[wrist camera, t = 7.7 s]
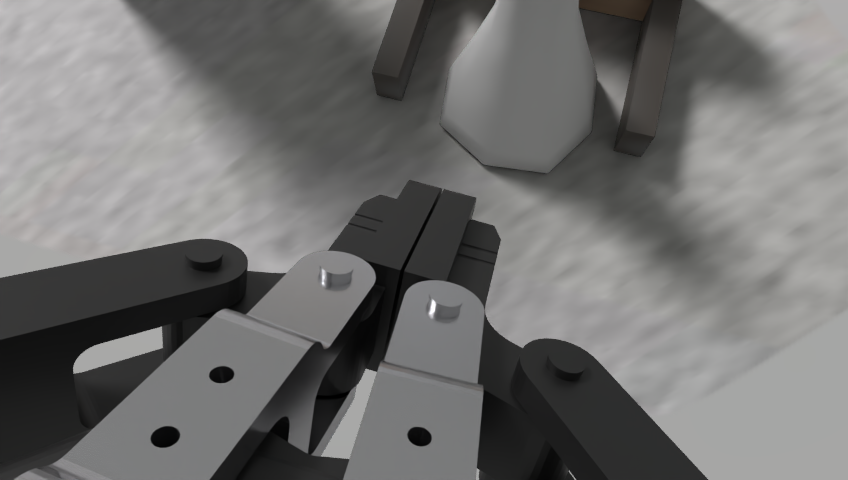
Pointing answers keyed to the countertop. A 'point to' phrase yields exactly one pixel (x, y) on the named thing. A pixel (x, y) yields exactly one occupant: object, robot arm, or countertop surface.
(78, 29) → the countertop surface
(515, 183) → the countertop surface
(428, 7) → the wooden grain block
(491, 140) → the flask
